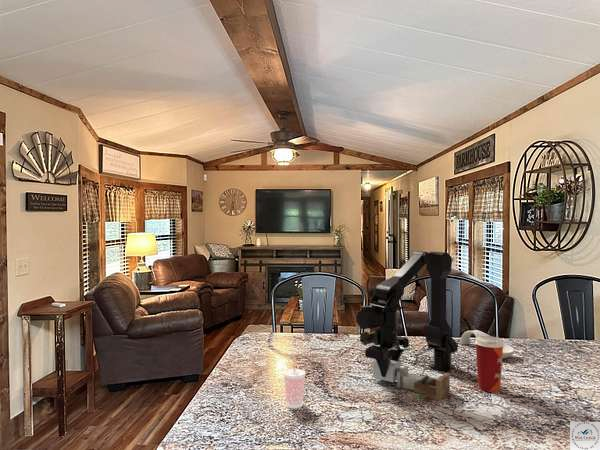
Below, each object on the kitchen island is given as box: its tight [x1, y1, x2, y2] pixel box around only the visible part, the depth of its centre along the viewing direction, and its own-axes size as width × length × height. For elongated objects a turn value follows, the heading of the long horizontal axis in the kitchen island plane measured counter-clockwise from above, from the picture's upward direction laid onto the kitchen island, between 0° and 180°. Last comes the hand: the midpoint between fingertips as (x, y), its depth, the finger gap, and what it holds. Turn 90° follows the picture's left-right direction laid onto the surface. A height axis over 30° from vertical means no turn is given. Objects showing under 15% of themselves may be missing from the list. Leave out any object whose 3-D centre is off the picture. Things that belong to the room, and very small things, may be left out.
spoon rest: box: [459, 329, 515, 360], centre depth 172 cm, size 24×12×7 cm, turn 20°
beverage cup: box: [283, 353, 306, 409], centre depth 123 cm, size 6×6×14 cm
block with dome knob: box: [372, 359, 402, 383], centre depth 140 cm, size 5×8×6 cm, turn 52°
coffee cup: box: [474, 335, 505, 393], centre depth 135 cm, size 8×8×15 cm
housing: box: [407, 372, 451, 402], centre depth 131 cm, size 10×9×6 cm
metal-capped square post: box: [396, 366, 434, 391], centre depth 134 cm, size 7×10×5 cm
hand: (387, 374), depth 140 cm, fingers closed on block with dome knob, 5 cm apart
